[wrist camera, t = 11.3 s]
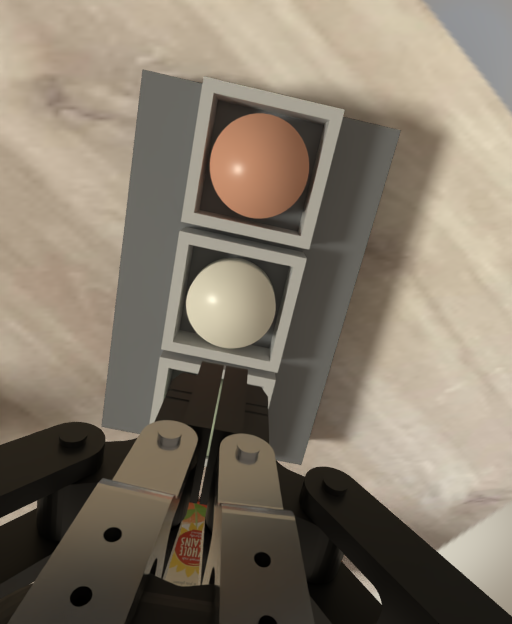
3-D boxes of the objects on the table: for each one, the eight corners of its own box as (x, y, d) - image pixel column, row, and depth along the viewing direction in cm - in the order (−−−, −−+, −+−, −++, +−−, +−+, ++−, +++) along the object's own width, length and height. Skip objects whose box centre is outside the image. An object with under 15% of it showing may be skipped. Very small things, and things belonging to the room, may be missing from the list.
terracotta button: (222, 107, 21) (219, 102, 20) (316, 129, 22) (320, 126, 20) (205, 205, 23) (202, 207, 22) (293, 224, 23) (296, 227, 22)
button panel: (156, 82, 24) (131, 58, 20) (385, 135, 25) (413, 125, 20) (116, 403, 31) (89, 444, 26) (297, 439, 32) (304, 485, 27)
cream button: (198, 249, 24) (193, 253, 22) (283, 267, 24) (284, 273, 23) (184, 329, 25) (179, 338, 24) (264, 346, 25) (264, 356, 24)
